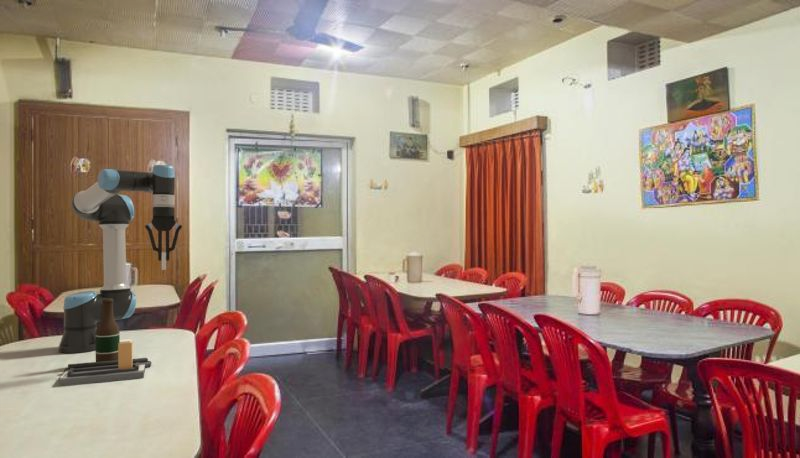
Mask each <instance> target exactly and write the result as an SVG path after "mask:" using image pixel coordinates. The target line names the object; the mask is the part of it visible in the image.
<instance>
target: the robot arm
mask: <svg viewBox="0 0 800 458" xmlns="http://www.w3.org/2000/svg"><path fill="white" fill-rule="evenodd" d="M175 179H176V175H175V167H174V166H172V165H170V164H155V165H153V166H152V171H136V170H135V171H134V170H124V169H115V168H110V169H109V168H108V169H107V168H105V169H103V168H102V169H101V170H100V171H99V172H98V176H97V181H96V182H95V183H94V184H92V185H91V186H90V187H88V188H87V189H85V190H80V191H78V192H77V193H76V194H75V195H73V197H72V199H71V201H70V203H71V204H70V206H71V210H72V211H73V213H74V214H75V215H76V216H77V217H79V218H80V219H82V220H86V221H89V222H98V226H99V227H100V228H101V229H102V239H103V240H102V243H103V244H102V245H103V246H102V247H103V249H102V250H103V251H102V252H103V256H102V257H103V286H102V287H101V288H100V289H99V293H97V291H95V290H89V291H80V292H74V293H70V294H69V295H67V296H66V297H64V298H63V300H64V301H63V308H62V309H63V334H62V337H61V339H60V342H59V345H58V352H59V353H63V354H78V353H79V354H80V353H86V352H92V351H96V329H97V327H98V325H97V323H98V322H99V323H100V322H101V319H102V307H103V302H102V300H103V299H106V298H112V299H113V316H114V320H115V321H116V320H118V321H119V320H122V319H123V320H124V319H128V318H130V317H131V316H132V315H134V313H135V309H136V307H137V297H136V293H135V292H134V291H132V290H131V287H130V286H129V285H128V284H127V253H126V250H127V248H126V247H127V246H126V243H127V242H126V241H127V240H126V229H127V228H128V227H130V222H133V220H134V217H135V206H134V202H133V201H132V199H131V198H130V197H129V196H127V195H125V194H119V193H120V192H121V191H127V192H143V193H151V194H152V205H153V207H152V218H151V222H150V223H148V224H146V225H144V228H145V229H146V231H147V232H148V235H149V240H150V243H151V247H152V250H153V251H154V252H157V254H158V255H157V256H158V257H157V259H158V261H160V262H161V271H166V270H167V261H169V260H170V252H173V251H174V250H175V248H176V245H177V240H178V238H179V233H180V231H181V229H182V228H183V226H182V225H181V224H179V223H178V222H177V220H176V219H175V211H176V210H175V205H176V202H175V201H176V199H175V197H176V196H175V193H176V192H175V190H176V189H175V187H176V185H175V184H176V183H175V182H176V181H175ZM153 227H154V228H155V229H156V231H157V238H158V239H157V245H156V241H155V237H154V233H153V231H152V230H153ZM173 227H174V229H175V231H174V236H173V239H172V243H171V246H170V231H171V230H172V229H173ZM163 232H165V251H163Z"/></svg>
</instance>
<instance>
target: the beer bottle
mask: <svg viewBox="0 0 800 458" xmlns="http://www.w3.org/2000/svg"><path fill="white" fill-rule="evenodd" d="M102 302H103V307H102V319H101V321H100V322H99V323H98V325H97V329H96V350H95V362H102V361H114V360H118V344H119V342H120V340H121V339H120V337H121V335H120V327H119V325H118V322H117V321H116V320H114V316H113V299H112V298H106V299H103V300H102Z"/></svg>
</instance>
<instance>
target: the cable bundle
mask: <svg viewBox="0 0 800 458" xmlns="http://www.w3.org/2000/svg"><path fill="white" fill-rule="evenodd" d="M132 359H133V364H136V362H139V364H145V368H150V367H152V361H151V360H149V359H148V357H141V358H140V357H138V358H132ZM116 365H118V360H114V361H102V362H96V361H94V362H93V361H91V362H80V363H79V362H78V363H68V365H67V367H65V368H64V369H63V374H64V373H65V372H66V371H68V370H70V368H74V369H82V368H93V367H105V366H116Z"/></svg>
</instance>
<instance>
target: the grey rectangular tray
mask: <svg viewBox="0 0 800 458" xmlns="http://www.w3.org/2000/svg"><path fill="white" fill-rule="evenodd" d="M145 372H146V367H145V364H139V362H136V364H133V367H132V368H130V369H119V370H118V365H116V366H105V367H93V368H82V369H74V368H70V370H68V371H66V372H65V373H64V372H63V374H62V376H61V377H60V378H59V384H58V385H59V387H63V386H64V387H65V386H74V385H82V384H83V385H85V384H96V383H103V382H104V383H105V382H114V381H125V380H137V379H144V377H145Z"/></svg>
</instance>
